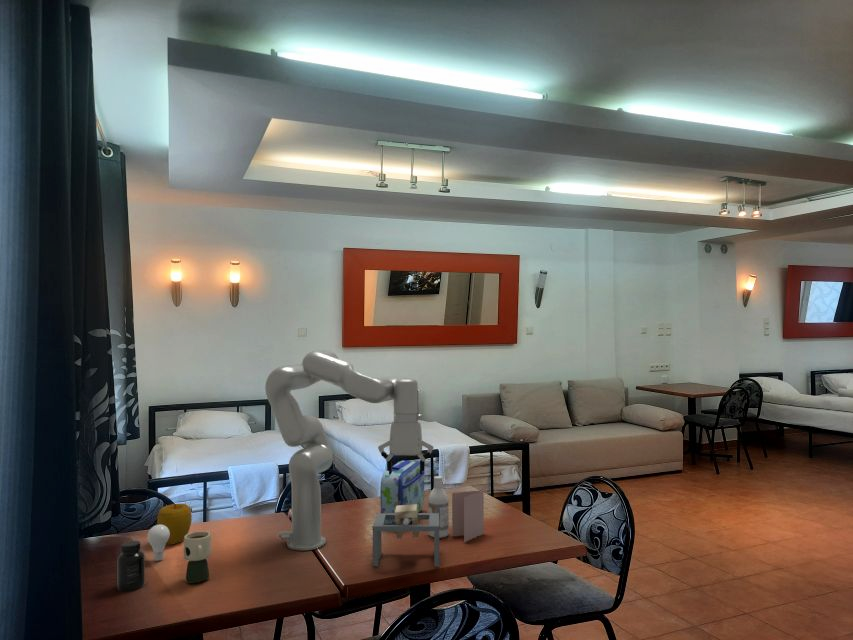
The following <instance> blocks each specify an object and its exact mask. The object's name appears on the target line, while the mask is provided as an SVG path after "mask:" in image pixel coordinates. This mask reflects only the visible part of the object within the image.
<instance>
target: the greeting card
mask: <svg viewBox="0 0 853 640" xmlns="http://www.w3.org/2000/svg"><path fill="white" fill-rule="evenodd" d="M484 497H485V496H484V490H473V491H471V490H470V491H460V492H459V491H458V492H452V493H451V503H452V505H451V507H452V508H451V511H452V512H451V513H452V519H451V521H452V523H451V525H452V527H451V529H452V530H451V531H452V537H453V536H455V537H461V536H460V535H464V536H463V543H464V542H465V543H467V542H468V540H469V541H471V540H473V539H475V538H478V537H480V536H482V535H484V533H485V532H484V530H485V528H484V527H485V525H484V524H485V523H484V522H485V521H484V520H485V519H484V515H485V513H484V512H485V511H484V509H485V508H484V507H485V506H484V504H485V503H484V500H485V499H484ZM477 536H478V537H477ZM472 538H473V539H472ZM470 539H471V540H470ZM466 541H467V542H466Z"/></svg>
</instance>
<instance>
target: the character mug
mask: <svg viewBox="0 0 853 640" xmlns="http://www.w3.org/2000/svg"><path fill="white" fill-rule="evenodd" d="M211 536H212V535H211V532H209V531H206V530H197V531H193V532H188V534H186V535H185V536H184V540H183V559H185V561H187V565H186V570H185V571H186V574H185V582H186V583H188V584H197V583H198V584H199V583H200V582H203V581H205V580H208V579H209V578H210V572H209V570H210V569H209V562H208V560H207V559H208V558H209V557H211V553H212V552H211V548H212V545H211V542H212V541H211Z"/></svg>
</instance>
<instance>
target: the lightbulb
mask: <svg viewBox="0 0 853 640" xmlns="http://www.w3.org/2000/svg"><path fill="white" fill-rule="evenodd" d="M169 536H170V531H169V529H168V528H167V527H166V526H165V525H161V524H160V525H157V524H156V525H153V526H152V527H150V529H149V530H148V532H147V535H146V537H147V541H148V543H149V544H150V546H151V548H152V551H153V560H154V561H157V562H160V561H162V560H163V559H164V550H165V547H166V545H167V544H166V542H167V541H168V539H169Z"/></svg>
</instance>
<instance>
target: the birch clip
mask: <svg viewBox="0 0 853 640" xmlns="http://www.w3.org/2000/svg"><path fill="white" fill-rule="evenodd" d="M402 518H412V521H411V522H412V524H411V525H420V524H419V519H418V510H417V504H412V505H398V506H396V509H395V522H396V525H403V524H402ZM403 532H404V531H397V532H395V533H396V539H397V540H398V539H402V538H403V534H404V533H403ZM412 534H413V536H412V537H413V538H419V534H420V531H412Z"/></svg>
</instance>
